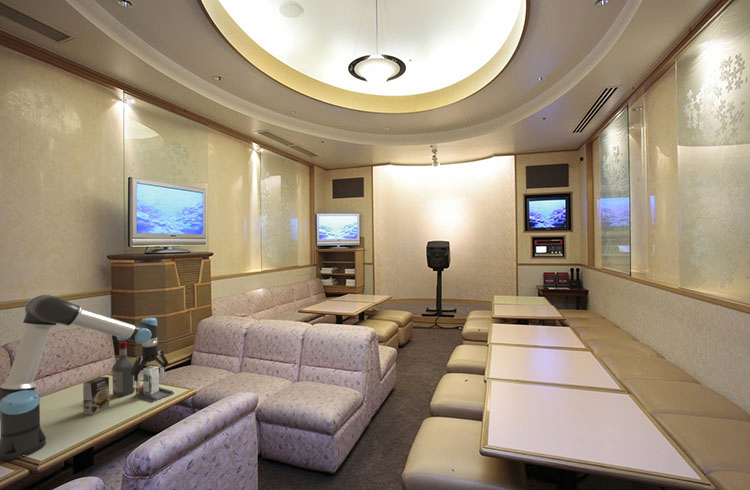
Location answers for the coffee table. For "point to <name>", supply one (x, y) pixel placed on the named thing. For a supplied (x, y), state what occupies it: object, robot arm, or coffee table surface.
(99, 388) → the coffee box
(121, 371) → the liquor
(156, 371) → the syrup box
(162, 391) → the rail board
